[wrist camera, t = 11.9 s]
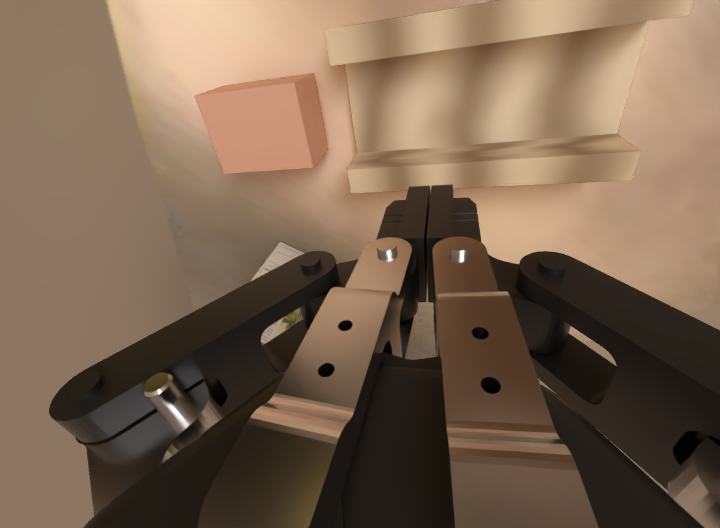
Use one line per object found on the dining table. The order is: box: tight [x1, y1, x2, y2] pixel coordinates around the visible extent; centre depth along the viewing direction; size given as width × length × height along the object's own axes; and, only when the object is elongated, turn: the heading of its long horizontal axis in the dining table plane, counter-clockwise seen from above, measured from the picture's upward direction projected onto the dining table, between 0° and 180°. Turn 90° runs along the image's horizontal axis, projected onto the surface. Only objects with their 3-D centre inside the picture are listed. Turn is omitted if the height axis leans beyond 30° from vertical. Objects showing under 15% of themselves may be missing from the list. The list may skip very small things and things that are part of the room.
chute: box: [324, 0, 694, 193], centre depth 24 cm, size 20×11×5 cm, turn 98°
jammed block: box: [195, 73, 328, 174], centre depth 27 cm, size 8×6×4 cm
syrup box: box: [250, 242, 304, 345], centre depth 35 cm, size 6×6×14 cm
